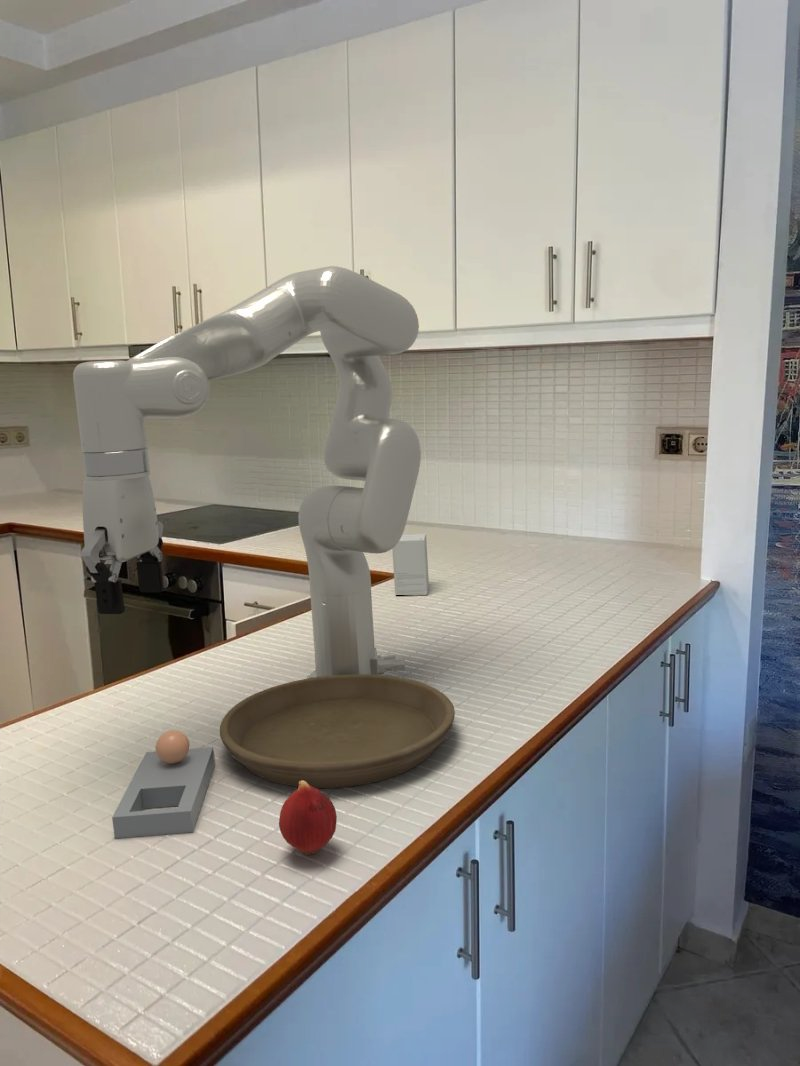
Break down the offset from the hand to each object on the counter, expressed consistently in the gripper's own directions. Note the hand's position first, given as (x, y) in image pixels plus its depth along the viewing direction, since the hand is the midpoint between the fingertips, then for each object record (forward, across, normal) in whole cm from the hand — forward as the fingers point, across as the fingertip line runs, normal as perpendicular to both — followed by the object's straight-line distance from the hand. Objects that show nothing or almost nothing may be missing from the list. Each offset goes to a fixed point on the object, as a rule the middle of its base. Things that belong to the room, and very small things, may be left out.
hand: (132, 602), depth 104 cm
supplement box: (+22, -86, +18) cm, 91 cm away
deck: (+22, +8, +7) cm, 24 cm away
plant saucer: (+22, -9, +23) cm, 33 cm away
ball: (+17, +4, +6) cm, 18 cm away
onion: (+22, +17, +27) cm, 39 cm away
